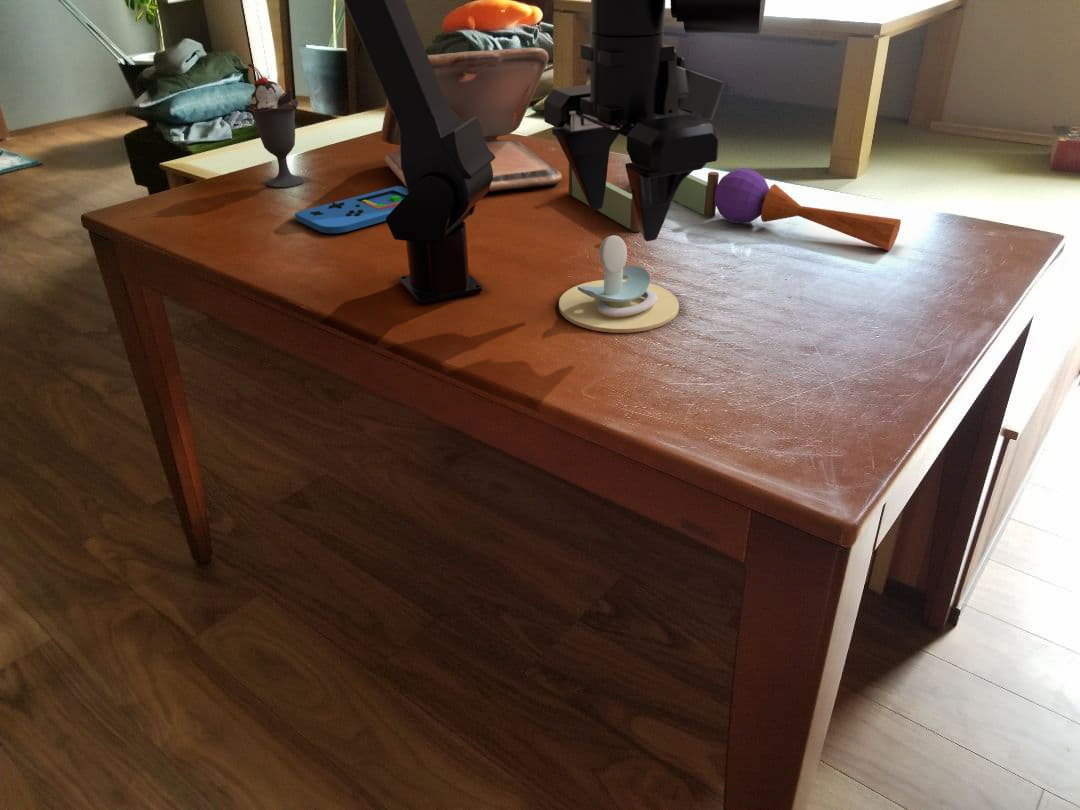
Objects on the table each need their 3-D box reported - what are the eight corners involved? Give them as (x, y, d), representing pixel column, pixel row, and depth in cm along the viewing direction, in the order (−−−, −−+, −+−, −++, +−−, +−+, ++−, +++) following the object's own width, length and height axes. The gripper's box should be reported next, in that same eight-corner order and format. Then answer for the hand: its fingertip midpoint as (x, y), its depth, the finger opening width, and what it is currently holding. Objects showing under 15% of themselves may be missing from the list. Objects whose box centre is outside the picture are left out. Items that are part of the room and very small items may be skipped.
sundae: (255, 179, 117) (232, 61, 109) (305, 172, 119) (286, 56, 112) (264, 192, 112) (240, 70, 104) (316, 185, 114) (296, 64, 106)
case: (517, 147, 128) (514, 30, 120) (570, 185, 111) (570, 52, 103) (380, 161, 122) (367, 39, 114) (413, 204, 105) (401, 64, 97)
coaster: (702, 316, 78) (702, 312, 78) (595, 343, 74) (595, 339, 73) (638, 274, 86) (638, 271, 86) (538, 296, 82) (538, 292, 82)
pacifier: (671, 304, 79) (624, 283, 83) (677, 239, 76) (627, 221, 80) (615, 328, 75) (568, 306, 79) (619, 262, 72) (569, 241, 76)
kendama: (891, 223, 86) (707, 177, 95) (878, 273, 90) (703, 225, 99) (910, 196, 89) (731, 154, 98) (897, 246, 93) (726, 201, 102)
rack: (717, 216, 101) (721, 173, 98) (634, 232, 96) (636, 188, 94) (643, 180, 113) (644, 141, 110) (567, 193, 109) (566, 153, 106)
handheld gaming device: (292, 210, 102) (399, 182, 110) (294, 219, 102) (400, 191, 111) (328, 227, 96) (437, 197, 105) (330, 236, 97) (438, 206, 105)
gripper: (787, 37, 64) (764, 240, 72) (650, 11, 78) (644, 182, 86) (658, 52, 59) (649, 265, 68) (539, 21, 74) (543, 200, 82)
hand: (622, 223), depth 76 cm, fingers open, 9 cm apart
